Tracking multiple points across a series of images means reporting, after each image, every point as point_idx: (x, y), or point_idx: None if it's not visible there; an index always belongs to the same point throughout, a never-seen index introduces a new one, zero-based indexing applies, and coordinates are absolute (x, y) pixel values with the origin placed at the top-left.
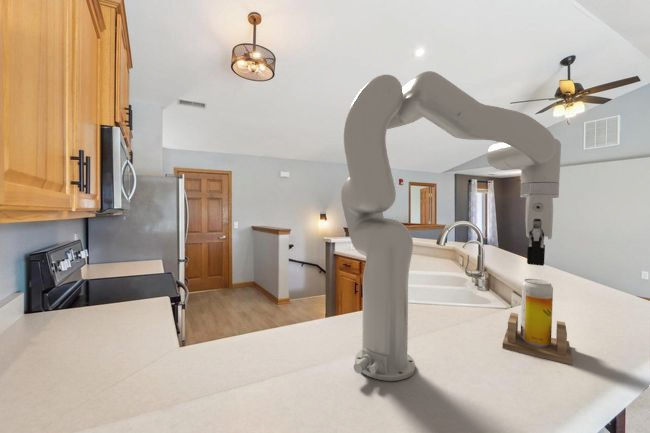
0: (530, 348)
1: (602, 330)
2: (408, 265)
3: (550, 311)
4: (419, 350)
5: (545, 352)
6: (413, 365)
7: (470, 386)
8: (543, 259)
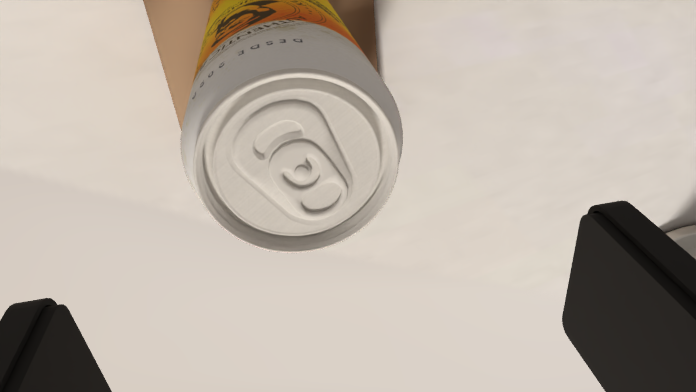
0: (360, 31)
1: None
2: None
3: (313, 3)
4: (549, 273)
5: None
6: (680, 240)
7: (689, 110)
8: (673, 247)
